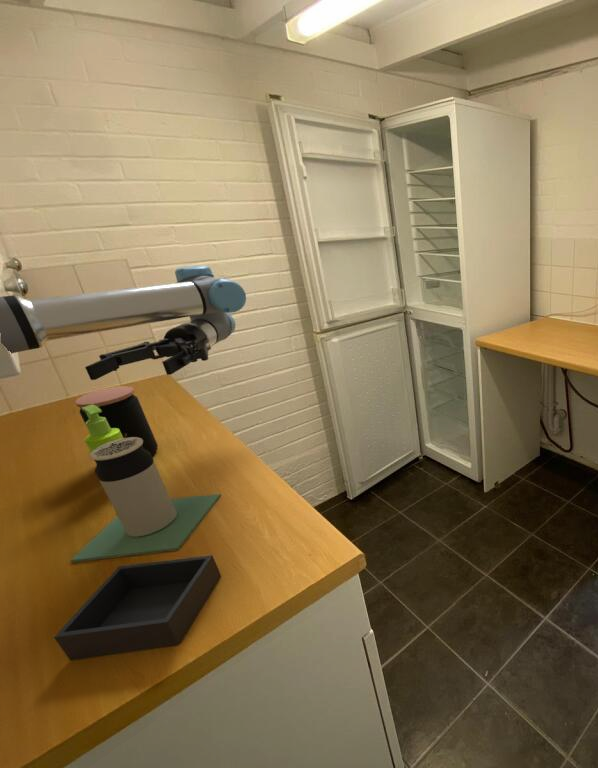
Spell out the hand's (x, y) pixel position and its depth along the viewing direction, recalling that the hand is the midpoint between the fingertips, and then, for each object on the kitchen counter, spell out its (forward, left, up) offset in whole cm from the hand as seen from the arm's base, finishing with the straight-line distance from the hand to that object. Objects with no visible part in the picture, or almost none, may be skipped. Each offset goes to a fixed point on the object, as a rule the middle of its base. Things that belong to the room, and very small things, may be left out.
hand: (128, 370), depth 81 cm
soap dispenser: (-16, +7, -30) cm, 35 cm away
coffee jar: (-22, +19, -30) cm, 42 cm away
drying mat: (0, -10, -30) cm, 32 cm away
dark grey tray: (+13, -32, -30) cm, 46 cm away
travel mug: (0, -10, -30) cm, 31 cm away
